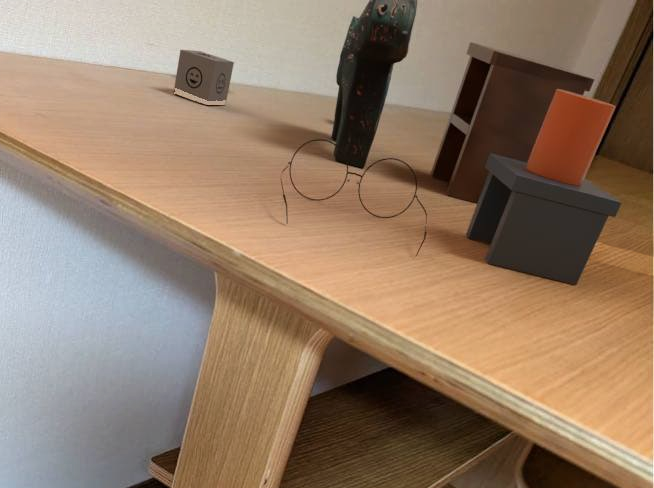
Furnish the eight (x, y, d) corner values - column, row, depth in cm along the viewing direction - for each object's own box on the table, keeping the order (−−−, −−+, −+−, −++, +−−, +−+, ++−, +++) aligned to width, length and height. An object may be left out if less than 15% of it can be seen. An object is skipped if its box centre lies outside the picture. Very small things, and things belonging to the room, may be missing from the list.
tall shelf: (510, 195, 100) (561, 67, 92) (536, 218, 91) (594, 79, 83) (426, 173, 99) (470, 41, 91) (443, 194, 90) (494, 50, 82)
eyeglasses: (428, 261, 64) (452, 195, 61) (272, 221, 63) (289, 151, 60) (412, 226, 73) (432, 167, 70) (276, 190, 72) (290, 129, 69)
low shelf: (550, 256, 76) (584, 178, 72) (582, 287, 69) (622, 202, 65) (459, 233, 75) (489, 152, 71) (482, 262, 68) (517, 174, 64)
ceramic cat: (374, 174, 90) (439, -43, 79) (317, 159, 89) (375, -62, 78) (363, 144, 106) (416, -40, 95) (315, 131, 106) (363, -55, 95)
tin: (570, 177, 70) (603, 101, 67) (589, 190, 67) (625, 109, 63) (518, 163, 70) (549, 85, 66) (534, 175, 66) (567, 93, 63)
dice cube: (192, 94, 107) (200, 51, 104) (225, 105, 106) (234, 62, 103) (173, 94, 103) (180, 49, 100) (207, 105, 102) (215, 60, 99)
